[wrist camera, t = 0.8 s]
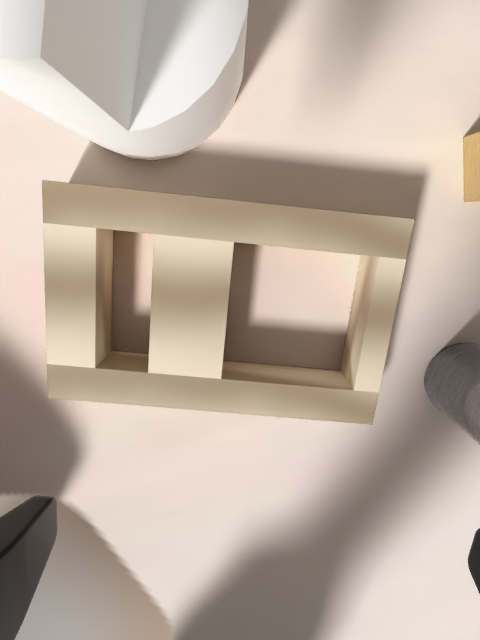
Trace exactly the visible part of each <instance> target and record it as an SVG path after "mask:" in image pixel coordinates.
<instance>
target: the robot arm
mask: <svg viewBox="0 0 480 640" xmlns="http://www.w3.org/2000/svg"><path fill="white" fill-rule="evenodd" d="M56 536H57V501H56V499H55V498H54V497H52V496H34V497H32V498H30V499H28V500H27V501H26V502H24V503H22V504H21V505H19V506H17V507H16V508H14V509H13V510H11V511H10V512H8V513H7V514H5V515H3V516H2V517H0V640H14V639H15V637H16V635H17V633H18V631H19V629H20V627H21V625H22V623H23V620H24V618H25V615H26V613H27V611H28V608H29V606H30V603H31V600H32V598H33V595H34V593H35V591H36V588H37V586H38V583H39V581H40V578H41V575H42V573H43V570H44V568H45V566H46V563H47V560H48V558H49V555H50V553H51V550H52V548H53V545H54V543H55V540H56ZM468 566H469V570H470V572H471V575H472V577H473V579H474V582H475V584H476V586H477V589H478V591H479V593H480V528H479V529H478V530H477V531H476V533H475V536H474V540H473V543H472V546H471V549H470V553H469V556H468Z"/></svg>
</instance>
